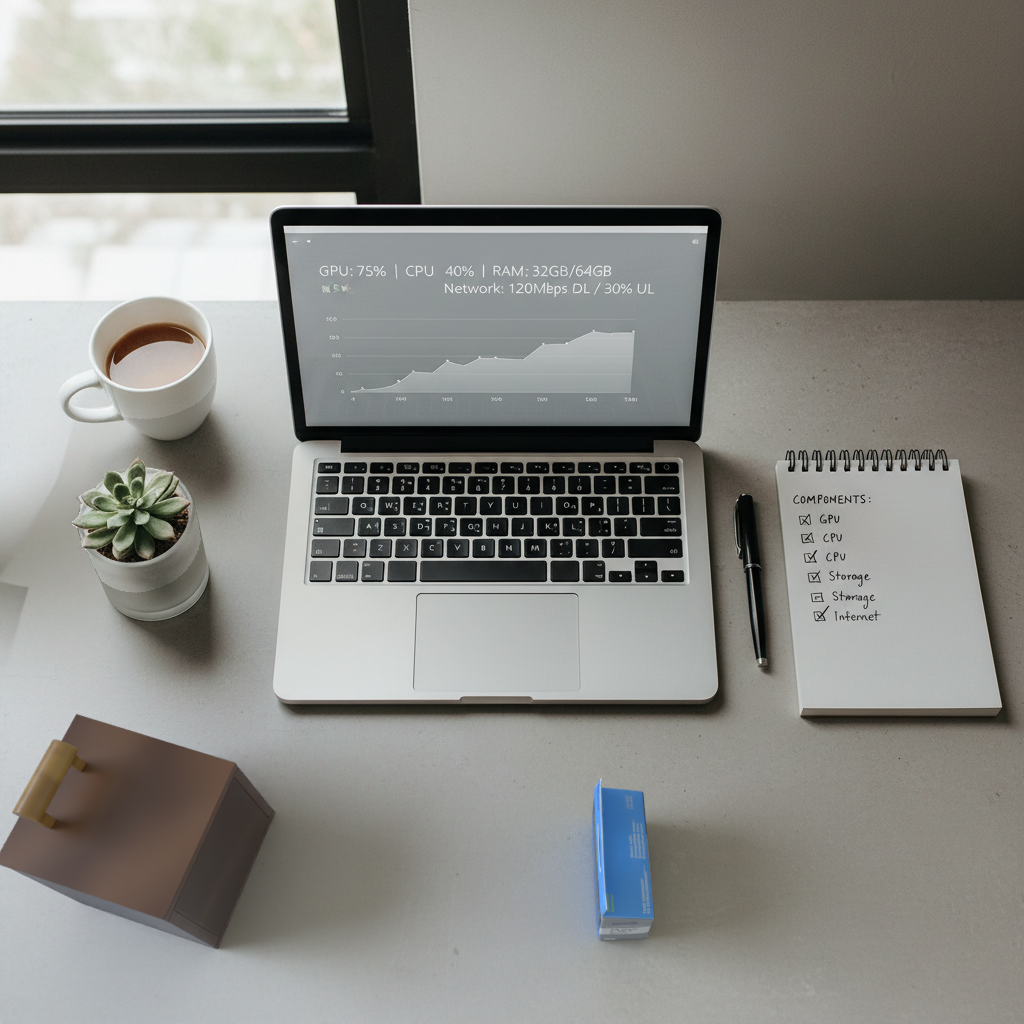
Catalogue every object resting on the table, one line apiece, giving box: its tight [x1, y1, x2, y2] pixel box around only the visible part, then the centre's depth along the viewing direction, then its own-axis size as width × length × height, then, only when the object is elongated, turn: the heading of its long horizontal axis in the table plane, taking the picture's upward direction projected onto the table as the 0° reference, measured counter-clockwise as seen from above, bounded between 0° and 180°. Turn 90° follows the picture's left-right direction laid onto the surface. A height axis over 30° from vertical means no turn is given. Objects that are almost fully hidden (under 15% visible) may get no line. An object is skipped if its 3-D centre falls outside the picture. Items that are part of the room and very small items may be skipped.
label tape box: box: [590, 777, 655, 941], centre depth 70 cm, size 9×4×12 cm, turn 1°
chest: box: [11, 766, 276, 950], centre depth 72 cm, size 12×11×12 cm
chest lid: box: [0, 713, 239, 922], centre depth 65 cm, size 12×11×5 cm
